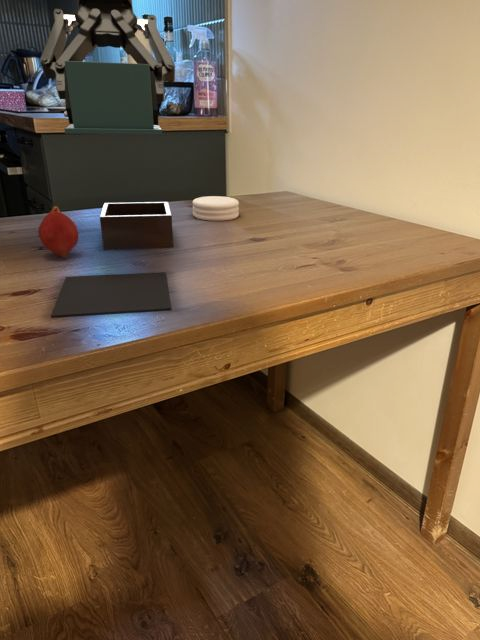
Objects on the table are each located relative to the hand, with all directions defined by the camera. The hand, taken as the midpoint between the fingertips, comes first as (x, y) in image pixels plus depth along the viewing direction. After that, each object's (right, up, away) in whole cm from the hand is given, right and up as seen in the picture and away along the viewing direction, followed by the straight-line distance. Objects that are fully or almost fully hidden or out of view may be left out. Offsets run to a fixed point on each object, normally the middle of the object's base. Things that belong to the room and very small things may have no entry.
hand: (113, 117), depth 65 cm
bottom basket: (-3, -11, +24) cm, 27 cm away
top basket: (-1, 0, +3) cm, 4 cm away
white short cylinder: (+9, -2, +43) cm, 44 cm away
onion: (-13, -16, +15) cm, 25 cm away
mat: (0, -23, +1) cm, 23 cm away
